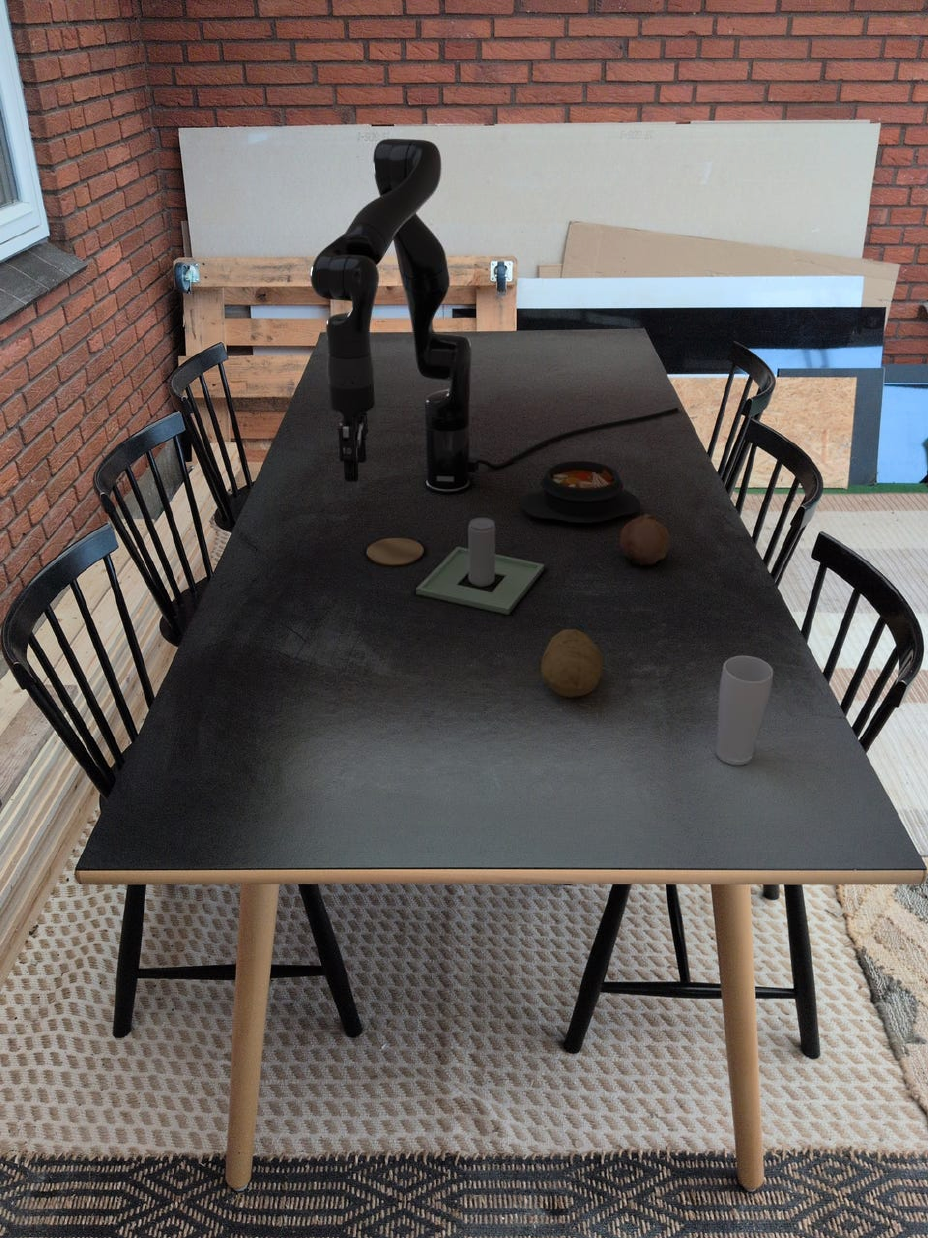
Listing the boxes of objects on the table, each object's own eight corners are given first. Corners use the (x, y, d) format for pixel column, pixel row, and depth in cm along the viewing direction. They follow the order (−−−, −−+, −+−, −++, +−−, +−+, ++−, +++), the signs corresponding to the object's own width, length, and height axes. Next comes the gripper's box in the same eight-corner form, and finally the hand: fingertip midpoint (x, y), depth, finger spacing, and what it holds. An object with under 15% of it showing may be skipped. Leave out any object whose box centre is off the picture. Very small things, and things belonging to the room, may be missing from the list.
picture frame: (457, 551, 201) (457, 546, 201) (544, 569, 195) (544, 564, 194) (416, 594, 187) (416, 588, 187) (508, 614, 181) (508, 609, 180)
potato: (597, 661, 168) (601, 619, 164) (605, 712, 156) (609, 669, 152) (537, 660, 169) (539, 618, 165) (540, 711, 157) (542, 668, 153)
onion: (637, 565, 203) (643, 514, 202) (677, 569, 196) (682, 516, 195) (606, 563, 196) (612, 510, 195) (646, 567, 189) (652, 512, 189)
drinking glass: (703, 742, 150) (716, 655, 142) (749, 739, 151) (764, 653, 143) (717, 772, 145) (731, 684, 137) (764, 769, 145) (781, 681, 137)
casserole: (627, 490, 226) (631, 454, 221) (649, 528, 210) (653, 490, 206) (514, 495, 224) (515, 459, 219) (528, 534, 208) (529, 495, 203)
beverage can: (492, 589, 189) (492, 530, 182) (466, 586, 190) (466, 527, 183) (496, 576, 193) (497, 518, 187) (471, 574, 194) (471, 516, 187)
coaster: (383, 535, 207) (383, 533, 207) (433, 545, 204) (433, 543, 203) (356, 558, 199) (356, 557, 199) (407, 570, 195) (407, 568, 195)
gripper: (366, 393, 164) (371, 488, 173) (379, 367, 177) (383, 456, 185) (320, 392, 165) (326, 486, 173) (336, 366, 177) (341, 455, 185)
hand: (355, 471), depth 179 cm, fingers open, 8 cm apart
